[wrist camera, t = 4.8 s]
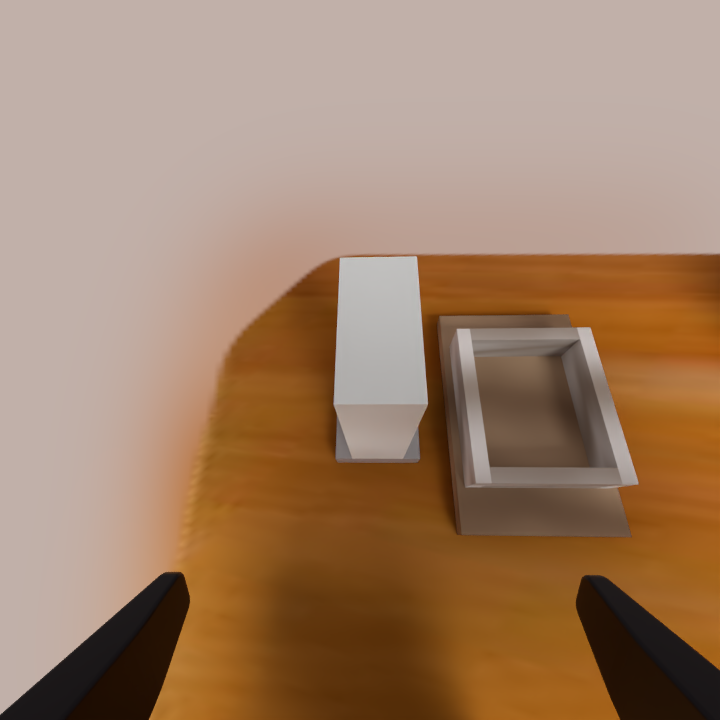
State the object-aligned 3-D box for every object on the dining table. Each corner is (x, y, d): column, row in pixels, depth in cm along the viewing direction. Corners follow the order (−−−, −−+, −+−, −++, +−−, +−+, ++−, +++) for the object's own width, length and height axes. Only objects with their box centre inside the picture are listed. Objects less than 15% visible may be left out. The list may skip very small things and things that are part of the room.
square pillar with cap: (417, 462, 22) (460, 404, 11) (337, 462, 22) (302, 404, 11) (411, 359, 25) (440, 232, 14) (341, 359, 25) (316, 235, 14)
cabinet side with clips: (617, 536, 20) (665, 539, 16) (457, 534, 20) (473, 536, 17) (560, 323, 26) (586, 294, 22) (436, 324, 26) (445, 296, 23)
